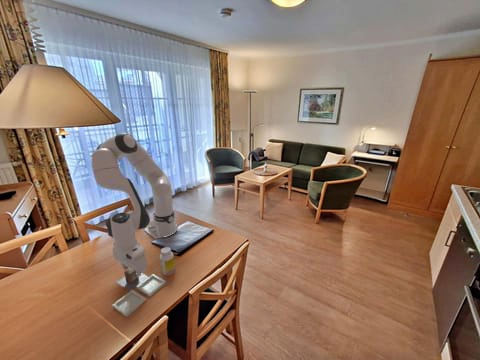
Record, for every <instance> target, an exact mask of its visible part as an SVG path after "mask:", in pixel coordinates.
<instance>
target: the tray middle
mask: <svg viewBox="0 0 480 360" xmlns="http://www.w3.org/2000/svg"><path fill="white" fill-rule="evenodd" d="M166 281H167V280H164V279H163V278H161V277H159V276H158V275H156V274H155V273H154V274H153V273H152V274H151V275H148V278H146V279H145V280H144V281H142V282H141V283H140V284H138V285H137V286H136V287H135V288H136V289H137V290H138V291H140V292H142V293H143V294H145V295H146V296H148V297H149V298H151V297H152V296H153V295H154V294H155V293H156V292H157V291H159V289H161V288H162V287H163V286H165V285H166V284H167V282H166Z"/></svg>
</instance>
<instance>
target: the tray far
mask: <svg viewBox="0 0 480 360" xmlns="http://www.w3.org/2000/svg"><path fill="white" fill-rule="evenodd" d="M146 301H147V300H146V297H145V296H143V295H142V294H140V293H138V292H137V291H135V290H134V289H132V290H131V291H129V292H127V293H126V294H125V295H123V296H122V297H121V298H119V299H118V300H117V301H116V302H114V303H113V304H112V308H113V309H115V310H116V311H117V312H119V313H120V314H121V315H122V316H124V317H125V318H127V317H129V316H130V315H131V314H132V313H133V312H134V311H136V310H137V309H138V308H139V307H140V306H141V305H143V303H145V302H146Z"/></svg>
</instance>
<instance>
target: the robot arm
mask: <svg viewBox="0 0 480 360" xmlns="http://www.w3.org/2000/svg"><path fill="white" fill-rule="evenodd" d="M123 158H125V159H126V160H127V161H128V162H129V164H130V165H131V166H132V167H133V169H135V170H136V172H137V173H138V174H139V175H140V176H141V177H142V178H143V179H144V180H146V181H147V183H148V184H149V185H150V187H151V194H152V201H153V209H154V212H153V213H152V216H154V217H152V218H150V214H149V213H148V211H147V209H146V208H145V206H144V204H143V202H142V200H141V198H140V196H139V193H138V190H137V189H136V188H135V185H134V183H133V182H132V180H131V179H130V178H128V177H125V175H123V173H122V171H121V168H120V164H119V162H118V161H119V160H120V159H123ZM91 167H92V172H93V173H92V174H93V177H94V179H95V182H96V184H97V185H98V186H99V187H101V188H102V189H105V190H109V191H115V192H116V191H117V192H123V193H125V194H126V195H127V196H128V198H129V200H130V202H131V205H132V206H133V208H134V209H132V210H129V211H126V212H125V211H124V212H118V213H115V214H113V215H111V216H109V217H108V218H107V219H106V221H105V227H106V229H107V235H108V236H109V237H111V238H112V239H114V242H113V248H112V255H113V259H115V261H117V262H119V263H120V264H121V266H122V269H123V270H125V271H127V270H128V269H130V268H131V269H133V270H135V271H136V272H137V273H135V275H136V276H137V277H139V276H141V273H143V272H145V271H146V270H147V269H148V260H147V256H146V255H145V254H146V249H145V248H144V247H143V246H142V245H141V244H140V242H138V239H137V237H136V231H138V230H143V229H144V232H145V233H146V234H148V235H149V236H151V237H152V238H153V239H155V240H157V239H162V238H161V237H164V236H167V235H170V234H172V233H174V232H175V231H176V230H177V229H178V223H177V222H176V217H175V211H174V208H173V207H174V206H173V191H172V184H171V181H170V178H169V177H168V176H167V174H166V173H165V172H164V171H163V170H162V169H161V168H160V166H159V165H158V164H157V163H156V162H155V160H154V159H153V158H152V156H151V155H150V153H148V152H147V150H146V149H145V148H144V147H143V146H142V145H141V144H140V143H139V142H137V141H136V139H135V137H134V136H133V135H132V134H130V133H127V132H121V133H118V134H116V135H114V136H111V137H109V138H108V139H106V140H105V141H104V142H102V143H100V144H99V145H98V146H97V147H96V149H95V150H94V151H93V152H92V153H91Z"/></svg>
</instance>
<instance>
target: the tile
mask: <svg viewBox="0 0 480 360" xmlns="http://www.w3.org/2000/svg"><path fill="white" fill-rule="evenodd" d="M148 277H149V275H146V274H145V273H143V272H142V273H141V276H139V278H138V279H137V280H136V281H134V282H133V283H132V284H131V283H129V282H127V281H126V279H125V276H124V277H122V278H121V279H119V280H118V281H117V282H115V283H117V285H119V286H120V287H123V288H124V290H127V291H129V292H130V291H131V290H134V288H137V287H136V286H138V285H139V284H140V283H142V282H143V281H144V280H145V279H147V278H148Z"/></svg>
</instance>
